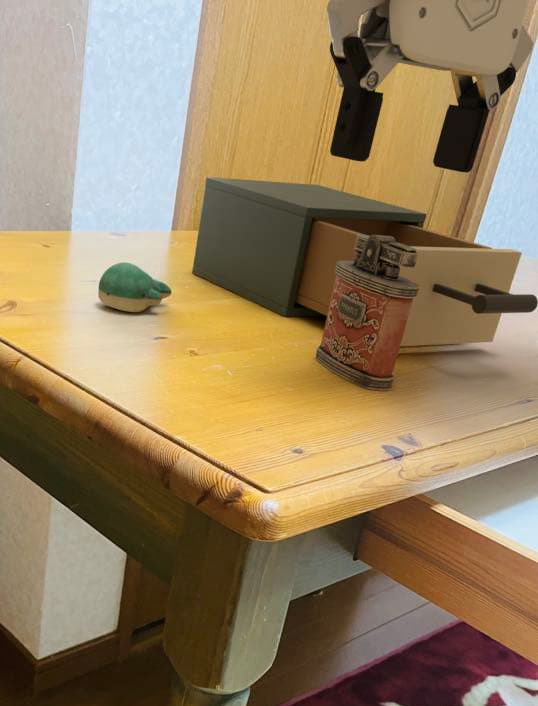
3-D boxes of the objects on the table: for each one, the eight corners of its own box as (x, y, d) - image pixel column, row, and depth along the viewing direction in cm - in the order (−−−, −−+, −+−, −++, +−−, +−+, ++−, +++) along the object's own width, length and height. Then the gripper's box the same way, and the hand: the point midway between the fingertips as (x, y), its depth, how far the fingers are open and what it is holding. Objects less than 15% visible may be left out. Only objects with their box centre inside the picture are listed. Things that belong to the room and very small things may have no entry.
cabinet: (399, 314, 85) (427, 213, 80) (285, 317, 78) (307, 207, 73) (298, 273, 97) (317, 184, 92) (191, 273, 90) (205, 176, 86)
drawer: (545, 363, 71) (580, 268, 67) (433, 370, 65) (464, 266, 61) (374, 296, 87) (394, 216, 83) (270, 297, 80) (287, 211, 77)
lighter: (305, 355, 67) (334, 224, 63) (340, 355, 69) (371, 227, 64) (364, 390, 61) (402, 248, 56) (402, 389, 62) (441, 250, 58)
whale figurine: (81, 301, 74) (85, 257, 72) (138, 294, 79) (143, 252, 77) (129, 319, 71) (134, 273, 69) (185, 310, 76) (191, 267, 74)
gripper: (425, -204, 43) (341, 162, 51) (629, -123, 51) (528, 182, 59) (330, -182, 48) (268, 145, 56) (527, -112, 56) (448, 165, 64)
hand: (401, 164), depth 58 cm, fingers open, 9 cm apart
